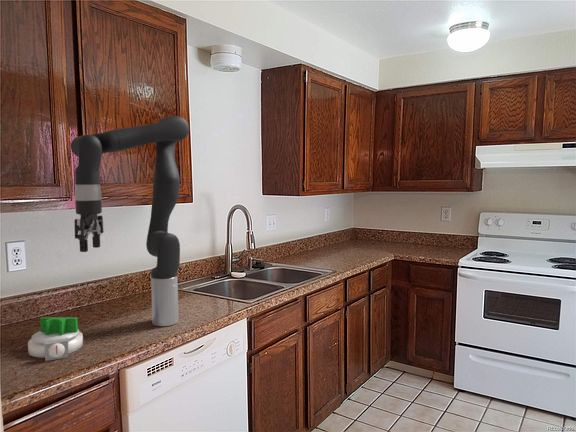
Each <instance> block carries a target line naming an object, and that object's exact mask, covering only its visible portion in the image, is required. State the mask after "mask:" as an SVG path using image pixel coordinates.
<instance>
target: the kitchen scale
mask: <svg viewBox="0 0 576 432" xmlns="http://www.w3.org/2000/svg"><path fill="white" fill-rule="evenodd" d="M83 335H84V334H83V333H82V331H80V329H79V328H78V331H77V332H67V333H65V334H64V335H60V333H53V334H50V335H45V332H41V330H39V331H37V332H35V333H34V334H33V335H31V338H30V339H29V340H28V341H27V351H28V355H29V356H31V357H34V358H38V359H39V358H45V359H44V361H45V362H49V361H54V360H60V359H65V358H69V357H70V356H69V354H70V353H73V352H75V351H78V350H79V349H81V348H82V347H83V346H84V336H83Z"/></svg>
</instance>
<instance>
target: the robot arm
mask: <svg viewBox="0 0 576 432" xmlns="http://www.w3.org/2000/svg"><path fill="white" fill-rule="evenodd" d="M189 132H190V126H189V123H188V121H187V120H186V119H185V118H183V117H182V116H178V115H171V116H165V117H162V118H160V119H159V120H158V121H157V122H156V123H155V122H154V123H151V124H150V123H149V124H144V125H138V126H137V125H136V126H131V127H129V126H128V127H122V128H117V129H111V130H107V131H103V132H99V133H93V134H92V133H91V134H83V135H82V134H81V135H79V136H77V137H75V138H73V140H72V141H71V143H70V150H71V152H72V154H74V155H75V157H78V165H77V166H76V167H75V171H74V180H75V181H74V182H75V185H74V186H75V188H74V189H75V190H74V203H75V213H76V215H79V216H80V218H75V219H74V239H75V240H76V239H77V240H79V241H78V242H79V251H80V253H86V252H88V251H89V247H88V246H89V244H88V237H89V235H90V234H91V235H92V237H91V238H92V248H94V249H95V248H96V249H98V248H101V236H102V234H104V220H103V219H104V218H103V215H100V214H102V212H103V207H102V190H101V181H100V180H101V178H100V169H101V163H102V155H103V154H106V153H107V154H108V153H117V152H121V151H127V150H129V149H134V148H139V147H140V146H145V145H149V144H153V143H155V162H154V163H155V164H154V176H153V182H152V183H153V185H152V199H151V209H150V211H151V212H150V220H149V225H148V229H147V230H148V231H147V236H146V241H145V242H146V245H145V246H146V247H145V248H146V251H147V252H148V254H150V256H152V257H156V259H157V260H156V266H155V267H152V269H151V270H150V279H151V280H150V282H151V283H150V284H151V286H150V287H151V317H152V320H151V322H152V325H153V326H156V327H169V326H173V325H176V324H177V323H178V322H179V289H178V287H179V286H178V285H179V284H178V272H179V268H180V261H181V259H180V258H181V256H180V255H181V245H180V244H181V243H180V239H179V238H178V237H177V235H176V234H173V233H170V232H168V229H169V220H170V216H171V214H172V212H173V210H174V209H175V206H176V205H177V202H178V199H179V195H180V187H181V186H180V183H181V177H180V174H179V173H180V172H179V170H178V166H177V163H176V159H175V158H176V155H175V153H176V145H177V143H178V142H181V141H182V142H183V140H185V139H186V138H187V137H188V135H189Z"/></svg>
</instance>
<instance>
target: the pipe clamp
mask: <svg viewBox="0 0 576 432" xmlns="http://www.w3.org/2000/svg"><path fill="white" fill-rule="evenodd" d="M39 322H40V323H39V324H40V331H41V332H45V335H50V334H53V333H60V335H64V334H65V333H67V332H77V331H78V329H79V326H78V323H79V322H78V317H77V316H76V317H74V316H73V317H65V316H64V317H62V316H61V317H60V316H59V317H58V316H57V317H54V316H53V317H51V316H50V317H49V316H45V317H44V316H42V317H41V318H40V319H39Z"/></svg>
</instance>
